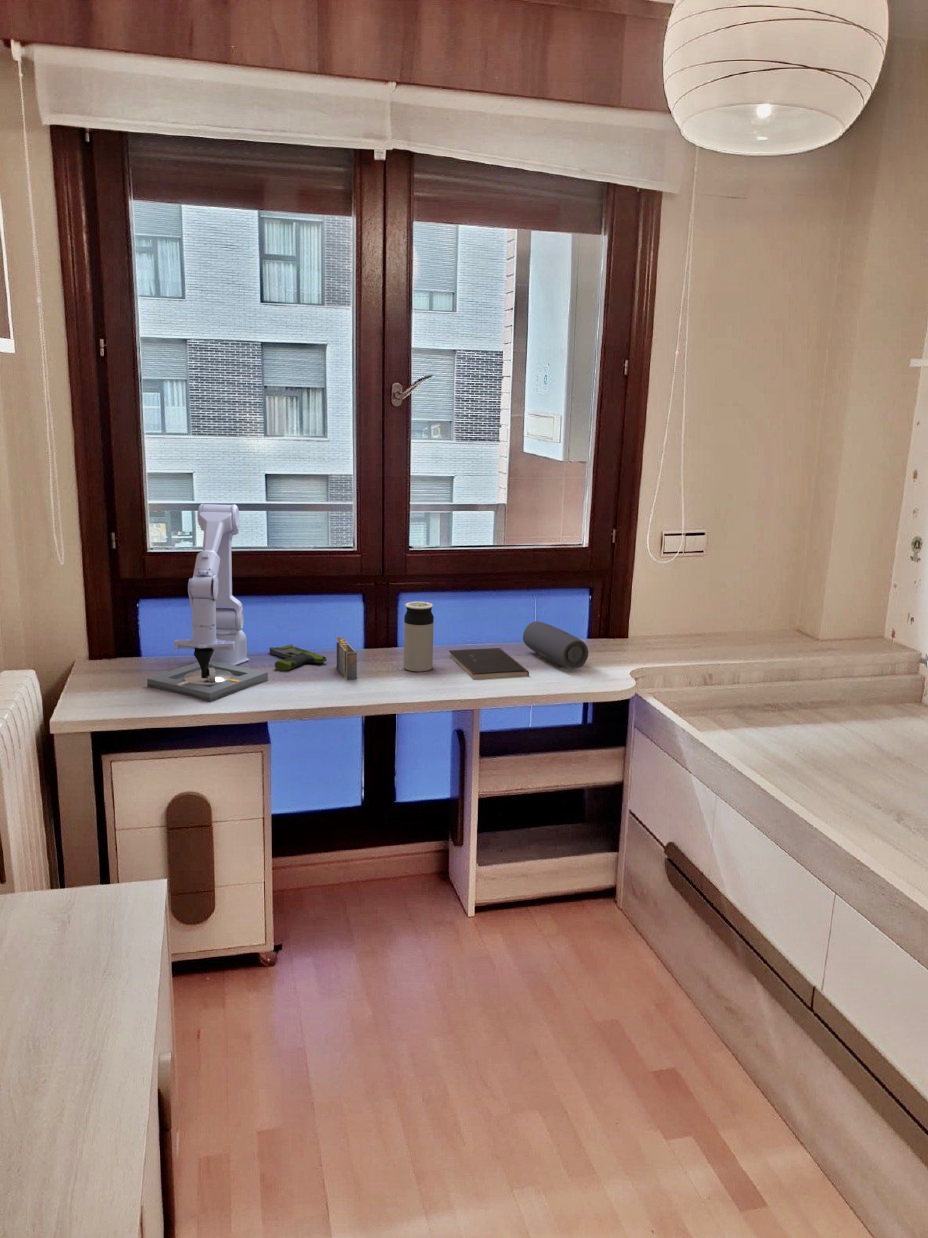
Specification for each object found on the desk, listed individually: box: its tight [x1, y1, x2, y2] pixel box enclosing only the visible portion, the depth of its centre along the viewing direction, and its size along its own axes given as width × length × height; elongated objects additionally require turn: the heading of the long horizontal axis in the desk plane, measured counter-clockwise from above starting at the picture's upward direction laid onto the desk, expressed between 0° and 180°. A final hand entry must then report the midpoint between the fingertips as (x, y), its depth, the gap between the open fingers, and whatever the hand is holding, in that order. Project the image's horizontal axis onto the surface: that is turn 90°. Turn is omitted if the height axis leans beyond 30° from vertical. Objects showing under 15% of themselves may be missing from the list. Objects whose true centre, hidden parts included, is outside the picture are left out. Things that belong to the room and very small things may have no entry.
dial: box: [184, 664, 233, 687], centre depth 241 cm, size 12×12×4 cm
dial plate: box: [146, 659, 269, 703], centre depth 242 cm, size 21×21×2 cm
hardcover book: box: [448, 647, 530, 680], centre depth 265 cm, size 16×23×2 cm
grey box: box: [334, 634, 358, 681], centre depth 253 cm, size 11×3×10 cm, turn 21°
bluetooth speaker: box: [522, 621, 589, 670], centre depth 270 cm, size 23×9×10 cm, turn 25°
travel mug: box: [403, 601, 435, 673], centre depth 259 cm, size 8×8×18 cm
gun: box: [269, 644, 328, 671], centre depth 264 cm, size 2×19×15 cm
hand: (205, 677), depth 237 cm, fingers closed, pressing on dial
